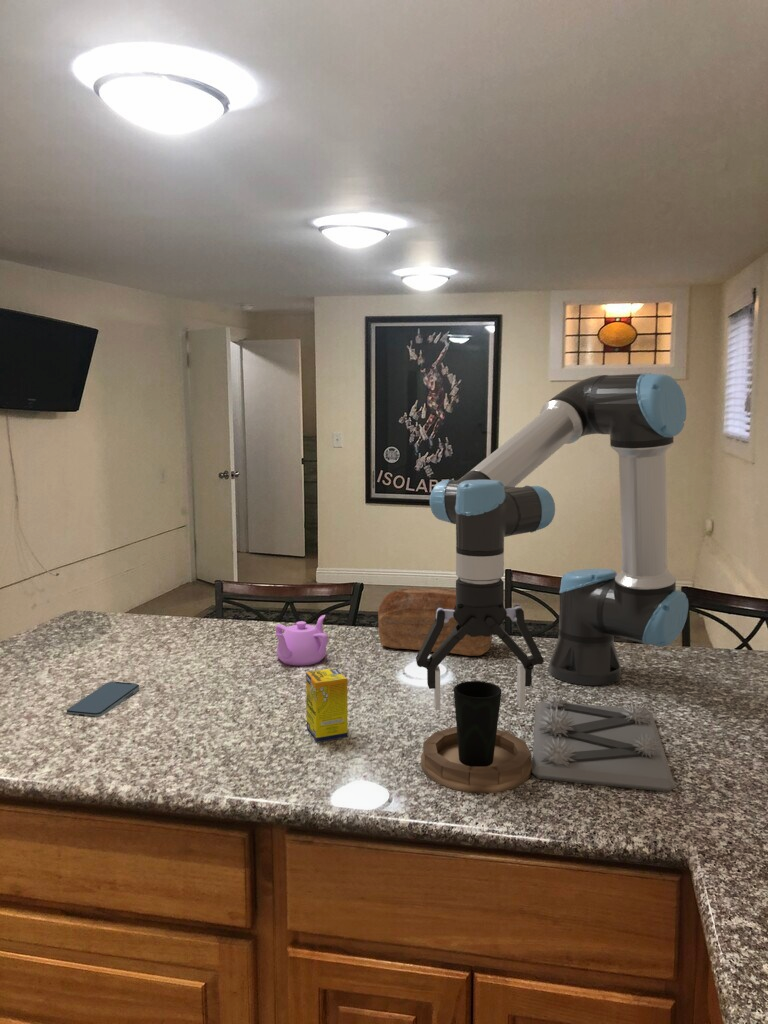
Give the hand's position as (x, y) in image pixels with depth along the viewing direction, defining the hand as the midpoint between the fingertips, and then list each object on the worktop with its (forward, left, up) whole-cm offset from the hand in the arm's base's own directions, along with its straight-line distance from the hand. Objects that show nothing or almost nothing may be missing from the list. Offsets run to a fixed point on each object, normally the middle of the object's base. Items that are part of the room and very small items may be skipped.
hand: (479, 706), depth 125 cm
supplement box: (+25, -13, -10) cm, 30 cm away
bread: (+1, -62, -10) cm, 63 cm away
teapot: (+33, -54, -10) cm, 64 cm away
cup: (0, 0, -9) cm, 9 cm away
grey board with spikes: (-22, -7, -11) cm, 25 cm away
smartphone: (+70, -29, -11) cm, 77 cm away
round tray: (0, 0, -10) cm, 10 cm away
